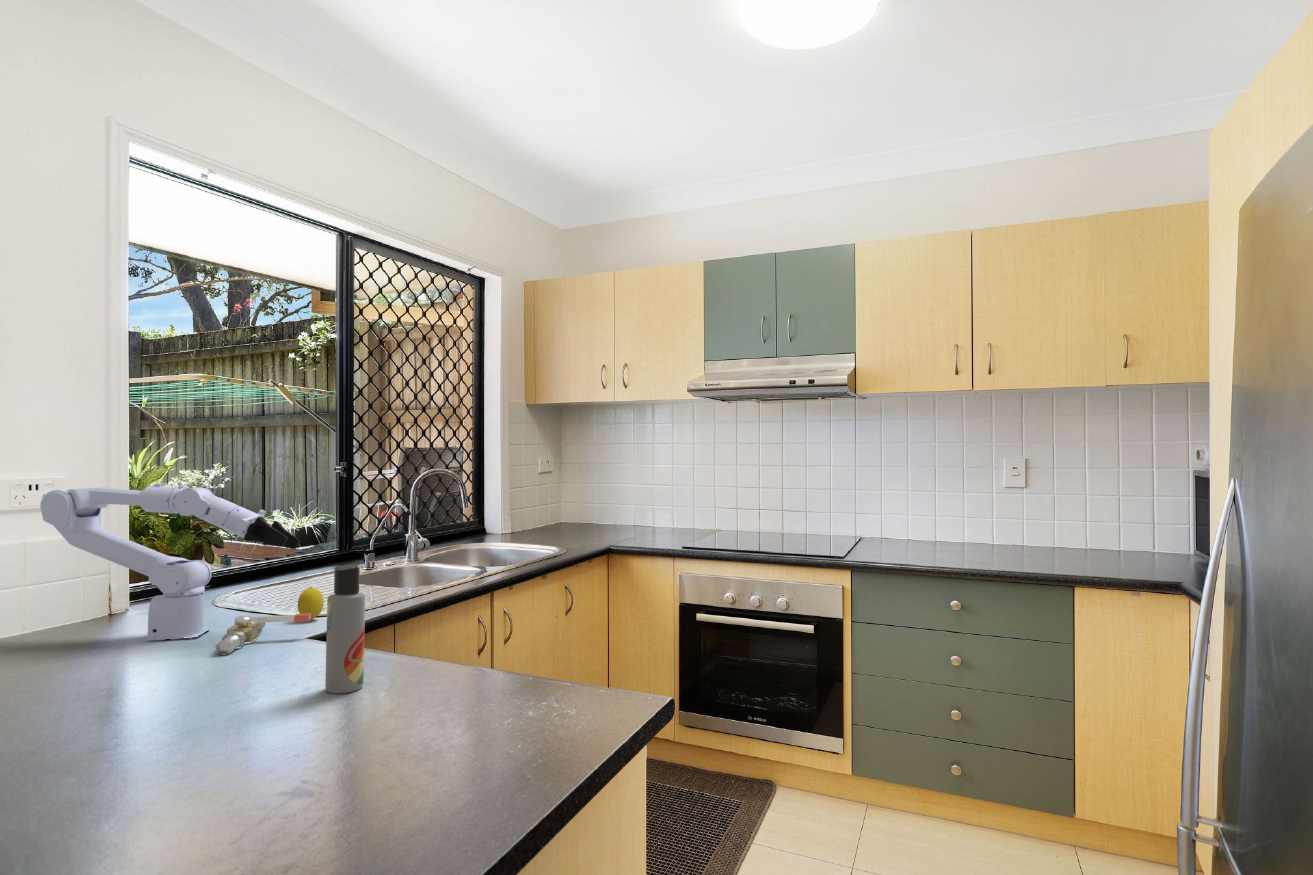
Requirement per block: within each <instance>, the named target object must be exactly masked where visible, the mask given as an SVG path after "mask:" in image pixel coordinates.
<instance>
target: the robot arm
mask: <svg viewBox="0 0 1313 875" xmlns="http://www.w3.org/2000/svg"><path fill="white" fill-rule="evenodd" d="M39 505H40V506H39V507H40V512H41V518H42V520H43V521H44V522H46V523H47V524H49V525H51V526H53V527H54V528H55V529H56V530H57V532H58V533H59V534H60V535H61V536H62V538H63V539H65V541H66V542H67V543H68V544H69V545H70V546H72V547H74V548H77V549H79V550H81V551H85V552H87V553H89V554H91V555H95V556H97V557H99V558H102V559H104V560H107V561H109V562H112V563H114V564H117V565H119V566H121V567H124V568H127V569H129V570H132V571H134V572H137V573H139V574H142V575H144V576H146V577H148V583H149V584H151V585H154V586H155V587H157V588H158V589H159V590H160V592H162V594H161V595H160V594H159V595H155V596H154V597H152V599H151V600H150V603H149V607H148V614H147V615H148V616H147V619H148V620H147V637H146V638H145V641H146V642H149V641H150V642H151V641H163V640H164V641H165V639H171V640H179V639H178V638H184V637H191V636H197V635H193V634H198V633H200V632H202V631H203V628H204V612H205V611H204V609H205V591H206V586H207V585H208V584H209V582H210V581H211V579H212V569H211V567H210V565H209V564H208V563H206V562H205V561H203V560H200V559H195V560H194V559H193V560H190V559H187V558H185V557H178V556H171V555H168V554H167V555H166V554H165V553H162V552H159V551H157V550H155V549H151V548H149V547H147V546H145V545H142V544H140V543H137V542H135V541H132V540H129V539H128V538H125V537H122V536H119V535H117V534H115V533H112V532H110V531H108V530H105V529H102V528H101V523H102V514H103V511H102V510H103V509H106V508H107V507H108V506H109V505H117V506H118V505H119V506H122V505H123V506H124V505H125V506H140V508H141V509H142V510H143V511H145V512H147V513H161V514H162V513H163V514H178V515H180V516H182V517H190V516H194V517H196V518H197V519H201V520H202V521H204V522H206V523H208V524H211V525H212V526H215V527H217V528H220V529H222V530H224V531H227V532H229V533H232V534H234V535H236V536H238V537H240V538H243V540H244V541H245V542H250V543H251V542H256V543H257V542H259V543H262V545H264V546H276V547H277V546H278V547H282V548H288V549H290V550H297V548H298V547H299V545H300V543H301V540H300V539H298V537H296V536H294V535H293V534H291V533H290V532H289V531H288V530H286V529H285V527H283V525H282V524H281V522H280V521H277V520H274V521H273V522H272V525H270V524H269V523H268V522H267V519H266V518H265V515H266V513H267V511H266V510H264V509H259V511H258V512H255V511H252V510H251V509H247V508H246V507H243V506H240V505H238V504H236V503H235V502H234V503H233V502H231V501H229V500H227V499H224V498H222V497H218V496H217V495H215V493H213V491H211V489H208V488H204V487H202V486H198V487H190V488H188V485H186V484H185V485H184V484H180V485H179V486H169V485H167V486H166V485H165V483H162V482H155V483H154V485H148V486H146V487H145V488H143V489H142V490H137V489H126V488H115V487H114V488H113V487H104V486H103V487H85V488H72V489H70V488H69V489H67V490H61V489H53V490H50V491H48V492H47V493H45V494H44V495H43V497H42V498H41V500H40V504H39Z"/></svg>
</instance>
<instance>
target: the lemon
mask: <svg viewBox="0 0 1313 875" xmlns="http://www.w3.org/2000/svg"><path fill="white" fill-rule="evenodd" d="M323 608H324V596H323V594H322V592H321V591H320V590H319V589H318V588H315V587H313V586H309V587H308V588H307V589H305V590H303V591H302V592H301V593H300V595H299V597H298V600H297V611H298V614H303V613H311V620H310V621H313V620H314V618H316V617H318V616H319V615H320V614H321V613H322V611H323ZM310 621H309V622H310Z"/></svg>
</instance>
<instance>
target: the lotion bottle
mask: <svg viewBox="0 0 1313 875" xmlns="http://www.w3.org/2000/svg"><path fill="white" fill-rule="evenodd" d="M333 573H334V576H333V578H334V579H333V593H332V594H330V595H328V596H327V602H326V603H327V607H326V641H325V645H326V647H325V677H324V678H325V691H326V692H327V693H329V694H335V695H337V694H347V693H352V692H356V691H358V690H360V689H362V688H363V686H364V676H365V674H364V671H365V669H364V668H365V635H366V634H365V629H366V627H365V626H366V624H365V622H366V620H365V619H366V595H365V593H363V592H360V578H361V577H360V576H361V575H360V567H358V564H356V563H349V564H344V565H339V566H335V567H334V572H333Z"/></svg>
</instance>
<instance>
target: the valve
mask: <svg viewBox="0 0 1313 875" xmlns="http://www.w3.org/2000/svg"><path fill="white" fill-rule="evenodd" d="M265 626H266V623H250V624H245V625H235V624H233V625H232V626H229V628H226V634H225V635H224V636H223V637H222V639H221V640H220V642H218V643H217V645H216V653H218V655H220V654H228V655H230V654H231V653H232V652H234V651H235V650H234V649H236V648H237V647H242V646H243V647H244V646H245V644H244V643H245V642H251V641H253V640H254V639H256V638H257V637H258V638H259V636H260V634H261V633H262V631H263V629H264V628H265ZM256 640H257V639H256ZM243 647H242V648H243ZM236 650H237V649H236Z"/></svg>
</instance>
